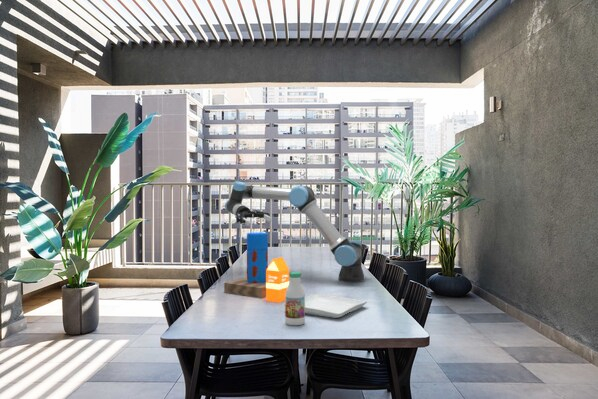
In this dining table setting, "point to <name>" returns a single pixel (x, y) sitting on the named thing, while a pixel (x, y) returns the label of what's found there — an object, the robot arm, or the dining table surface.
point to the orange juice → (277, 280)
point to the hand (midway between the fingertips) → (259, 221)
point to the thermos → (257, 257)
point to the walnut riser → (245, 288)
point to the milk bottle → (295, 301)
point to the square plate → (331, 305)
